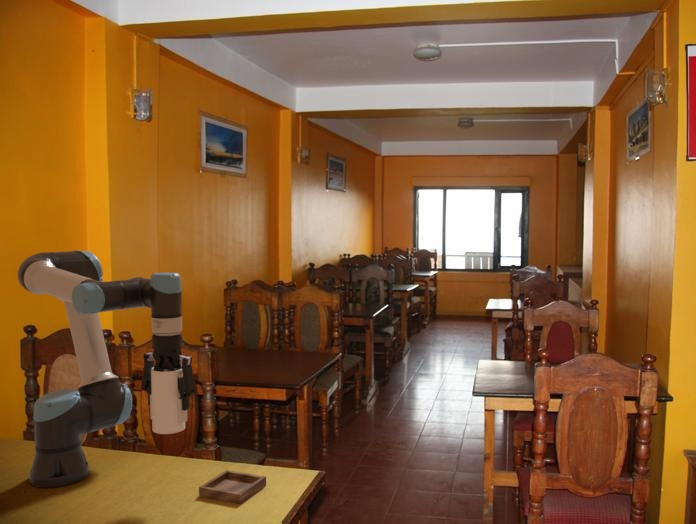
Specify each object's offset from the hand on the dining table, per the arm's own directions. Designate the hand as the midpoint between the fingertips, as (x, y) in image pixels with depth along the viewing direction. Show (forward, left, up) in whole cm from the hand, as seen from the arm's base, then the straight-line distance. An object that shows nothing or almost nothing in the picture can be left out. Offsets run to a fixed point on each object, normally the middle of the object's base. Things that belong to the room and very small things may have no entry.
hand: (168, 419), depth 169 cm
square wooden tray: (+14, +7, -19) cm, 25 cm away
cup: (0, 0, -3) cm, 3 cm away
